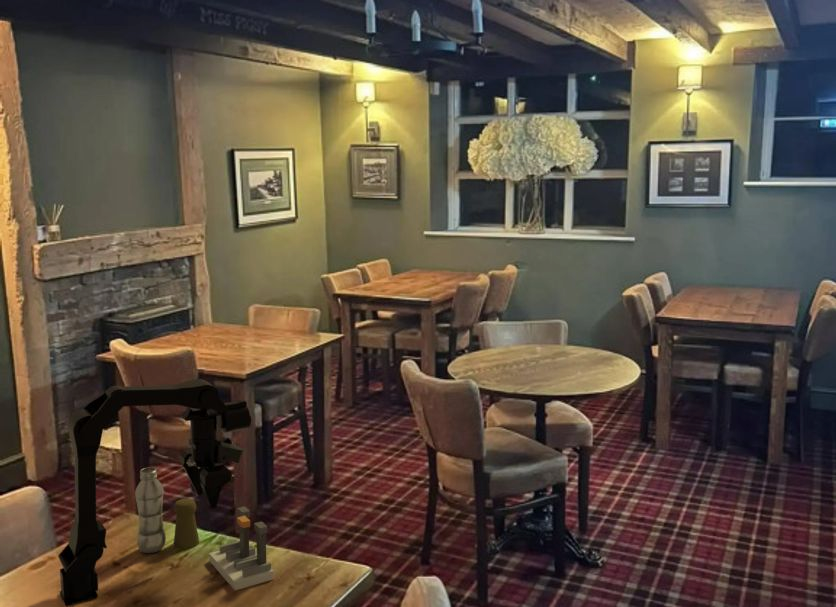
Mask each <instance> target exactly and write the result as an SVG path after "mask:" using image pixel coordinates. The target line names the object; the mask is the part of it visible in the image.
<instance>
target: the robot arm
mask: <svg viewBox="0 0 836 607" xmlns="http://www.w3.org/2000/svg"><path fill="white" fill-rule="evenodd" d="M219 394H220V393H219V391H218V388H216V386H214V385H213V384H212V383H210V382H208V381H206V380H205V379H201V378H198V379H191V380H186V381H183V382H181V383H177V384H173V385H141V386H140V385H134V386H132V385H131V386H128V385H127V386H120V385H112V386H110V387H109V388H108V389H106V390H105V391H104V392H103V393H102V394H100V395H98V396H97V397H96V398H94V399H92V400H90V402H88V403H86V405H84V407H83V408H81V409H77V410H75V411H73V412H71V414H70V415H69V416H68V417H67V422H66V423H67V424H66V426H67V430H68V435H69V439H70V443H71V447H72V450H73V454H74V520H73V521H72V525H71V527H70V532H69V538H68V543H67V545H66V546H64V548H63V549H62V550H61V551H60V553H59V554H58V556H57V557H58V559H59V561H60V563H61V566H62V568H60V569H59V575H60V576H59V578H60V591H59V595H60V598H61V600H62V602H63V604H64V606H66V607H67V606H71V605H76V604H78V603H79V604H80V603H83V602H86V601H90V600H94V599H97V598H98V597H99V596H98V595H99V593H97V592H98V591H99V578H98V577H99V576H98V572H97V570H96V564H97V562H98V561H99V560H100V559H101V558H102V557H103V555H104V549H107V548H108V547H107V544H106V536H107V529H106V527H105V526H104V524H103V523H102V521H101V520H100V519H98V520H97V454H98V451H99V448H100V446H101V442H102V436H103V430H104V429H105V428H106V427H108V425H109V424H111V423H112V422H113V420H114V419H115V417H116V415H117V414H118V413H119V411H121V410H122V409H123V408H124V407H146V406H147V407H151V406H181V407H185V408H186V409H185V411H183V412H182V413H181V414H180V418H181V419H183V420H184V421H185V422H189V421H190V438H189V439H187V440H188V444H189V445H190V448H187V449H183V450H182V451H181V452H180V454H179V462H180V464H181V466H182V468H183V470H184V472H185V473H186V475H187V477H188V479H189V482H190V483H191V485H192V487H193V489H194V490H195V493H196V494H197V495H198V496H202V495H203V493H204V495H205V497H206V499H207V502H208V505H209V506H210V509H212V510H213V509H216V508H217V506H218V502H219V499H220V495H221V492H222V489H223V488H224V486H225V485H227V484H229V483H230V482H232V481H233V480H234V479H233V471H232V470H230V469H229V468H228V467H227V466H226V465H224V464H223V463H224V461H228V462H234V463H236V464H240V461H241V458H242V456H243V452H244V449H243V448H242V447H240V445H237V444H236V443H233V442H232V439H231V438H230V437H227V436H222V438H221V439H219V438H218V429H219V430H221V431H223V433H230V432H231V433H232V432H236V431H242V430H247V429H249V428H251V426H252V425H251V424H252V416H251V414H250V410H249V407H248V405H247V404H248V403H247V401H246V400H245V399H238V400H236V401H231V402H224V401H222V400H221V399H220V397H219V396H220V395H219ZM193 409H194V410H193ZM216 464H217V465H216ZM218 464H219V465H218Z"/></svg>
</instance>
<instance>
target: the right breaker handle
mask: <svg viewBox="0 0 836 607" xmlns="http://www.w3.org/2000/svg"><path fill="white" fill-rule="evenodd" d="M253 526H254V527H253V529H254V530H255V536H256V538H255V539H256V541H255V543H256V554H257V565H261V564H265V563H267V536H266V534H267V533H269V532H268V529H269V528H268V525H266V524H265V523H264V522H263V521H258V522H254V523H253Z"/></svg>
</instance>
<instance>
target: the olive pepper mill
mask: <svg viewBox="0 0 836 607" xmlns="http://www.w3.org/2000/svg"><path fill="white" fill-rule="evenodd" d="M173 511H174V514H175V515H176V518H175V525H174V526H175V528H174V538H173V547H174V548H175V549H178V550H188V549H192V548H195V547H198V546H199V544H200V539H199V538H200V537H199V532H198V527H197V522H196V516H195V513H196V511H197V504H196V502H195V500H194V499H192V498H182V499H179V500H177V501H175V503H174V505H173Z"/></svg>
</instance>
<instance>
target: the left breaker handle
mask: <svg viewBox="0 0 836 607" xmlns="http://www.w3.org/2000/svg"><path fill="white" fill-rule="evenodd" d="M237 515H238V517H241V516H246V517H247V518H248V519H249V518H251V511H250V509H249V508H248V507H246V506H241V507H237ZM248 528H250V527H248Z"/></svg>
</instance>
